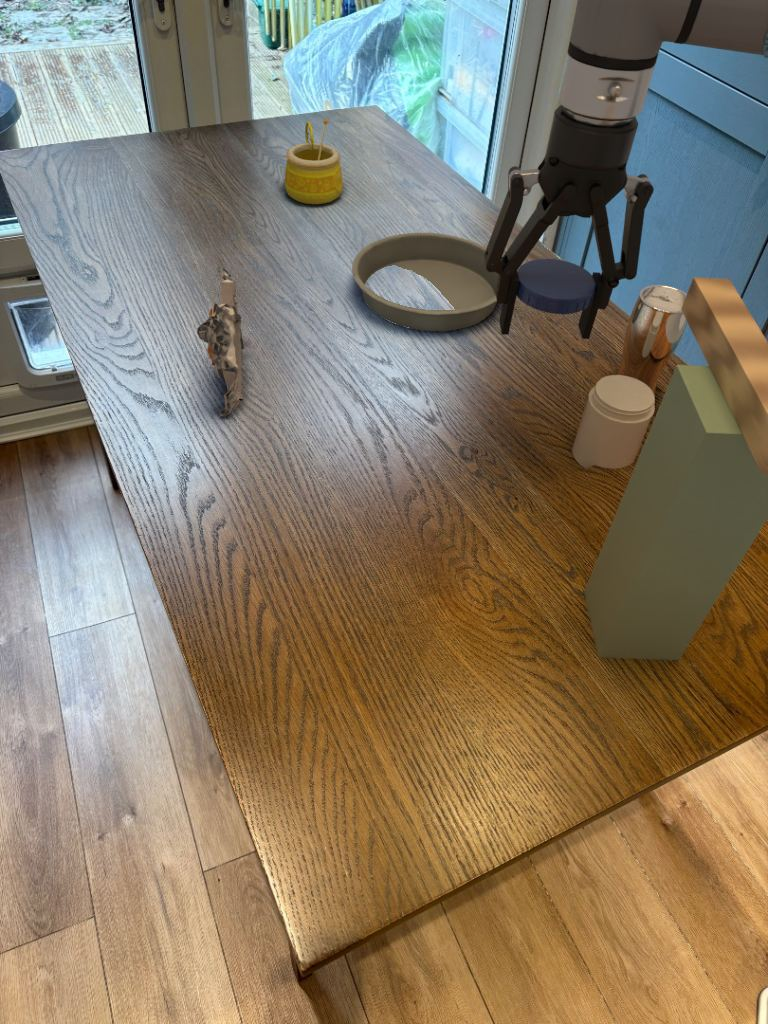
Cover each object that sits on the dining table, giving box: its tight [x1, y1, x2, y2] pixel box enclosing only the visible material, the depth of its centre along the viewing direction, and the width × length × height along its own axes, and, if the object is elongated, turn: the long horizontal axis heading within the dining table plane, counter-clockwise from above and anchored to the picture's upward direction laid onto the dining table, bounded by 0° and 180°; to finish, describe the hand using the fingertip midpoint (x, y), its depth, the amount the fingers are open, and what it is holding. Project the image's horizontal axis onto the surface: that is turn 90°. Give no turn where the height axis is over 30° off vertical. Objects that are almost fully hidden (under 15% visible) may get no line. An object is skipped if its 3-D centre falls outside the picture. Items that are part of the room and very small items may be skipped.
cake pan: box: [351, 232, 499, 332], centre depth 118 cm, size 25×25×4 cm
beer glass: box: [616, 284, 688, 396], centre depth 99 cm, size 7×7×15 cm
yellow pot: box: [284, 118, 344, 205], centre depth 138 cm, size 13×11×12 cm
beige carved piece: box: [196, 266, 244, 419], centre depth 96 cm, size 15×4×13 cm, turn 6°
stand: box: [583, 364, 768, 661], centre depth 66 cm, size 8×8×30 cm
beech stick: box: [681, 276, 768, 474], centre depth 55 cm, size 20×3×3 cm, turn 0°
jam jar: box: [571, 374, 656, 469], centre depth 92 cm, size 8×8×10 cm
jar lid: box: [516, 258, 596, 315], centre depth 79 cm, size 8×8×2 cm
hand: (543, 329), depth 83 cm, fingers closed on jar lid, 8 cm apart
